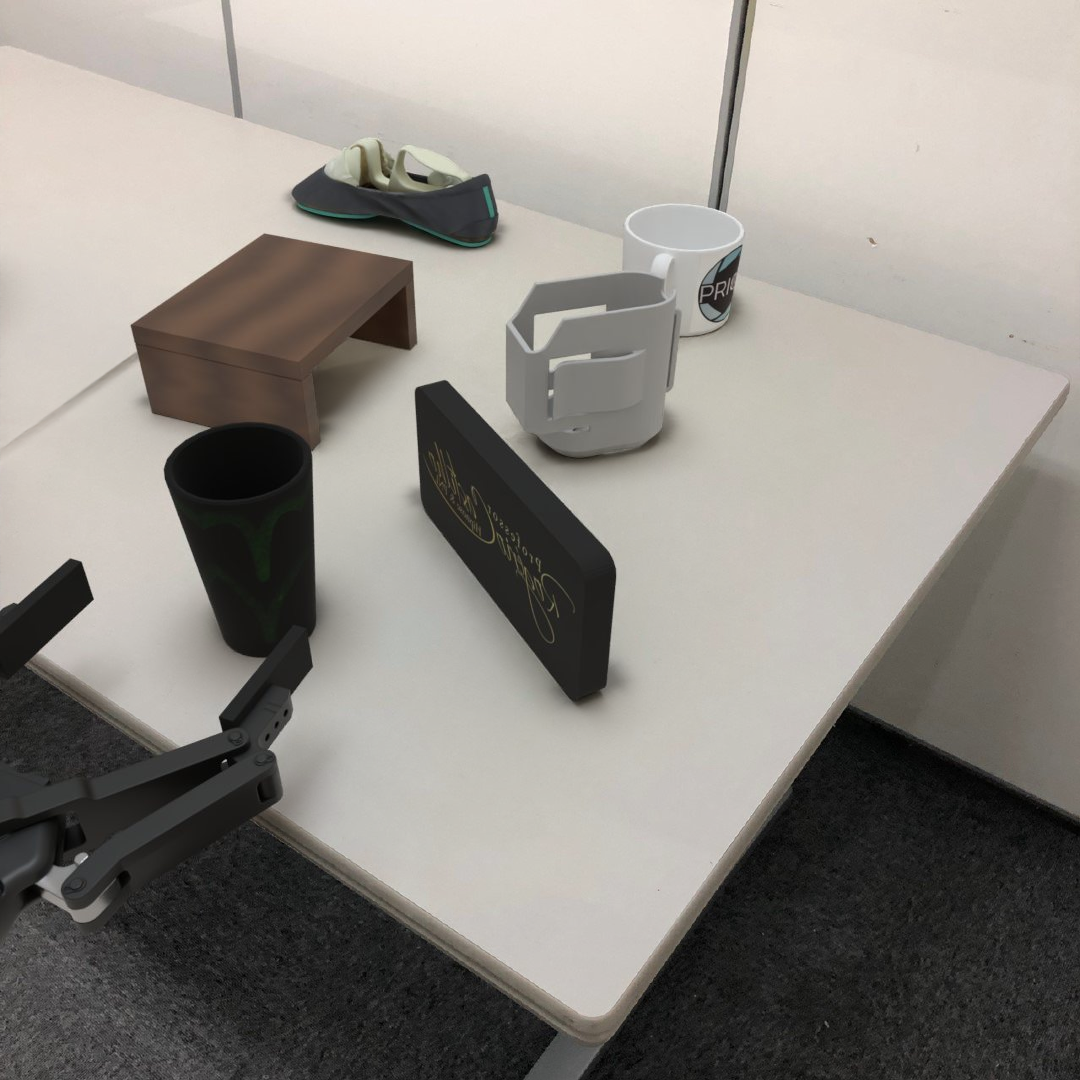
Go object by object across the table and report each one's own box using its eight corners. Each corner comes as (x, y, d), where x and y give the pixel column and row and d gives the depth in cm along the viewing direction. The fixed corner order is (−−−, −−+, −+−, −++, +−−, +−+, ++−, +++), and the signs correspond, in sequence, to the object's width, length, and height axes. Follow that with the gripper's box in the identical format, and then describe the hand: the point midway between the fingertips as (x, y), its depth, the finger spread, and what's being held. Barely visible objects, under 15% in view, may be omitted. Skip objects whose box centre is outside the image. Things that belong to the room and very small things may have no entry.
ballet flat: (324, 186, 119) (316, 111, 114) (515, 229, 111) (515, 150, 105) (278, 211, 113) (267, 133, 108) (476, 258, 105) (474, 176, 100)
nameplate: (605, 695, 60) (618, 560, 54) (577, 707, 59) (586, 572, 53) (445, 499, 74) (440, 373, 68) (421, 507, 73) (413, 380, 67)
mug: (636, 278, 102) (643, 195, 97) (743, 297, 99) (756, 214, 94) (591, 340, 92) (596, 252, 87) (709, 364, 90) (721, 274, 84)
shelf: (151, 412, 82) (130, 324, 77) (276, 313, 95) (264, 232, 90) (311, 451, 78) (298, 362, 73) (417, 342, 91) (412, 260, 87)
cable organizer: (502, 432, 81) (502, 286, 73) (650, 405, 84) (665, 263, 76) (530, 481, 76) (533, 330, 68) (687, 451, 79) (707, 304, 72)
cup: (252, 569, 68) (221, 408, 60) (357, 602, 65) (338, 440, 58) (176, 647, 62) (131, 481, 55) (288, 686, 60) (257, 518, 52)
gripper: (-337, 913, 45) (17, 603, 61) (151, 1139, 39) (408, 727, 54) (-435, 805, 41) (-24, 499, 56) (103, 1041, 34) (400, 620, 50)
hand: (189, 610), depth 55 cm, fingers open, 13 cm apart
